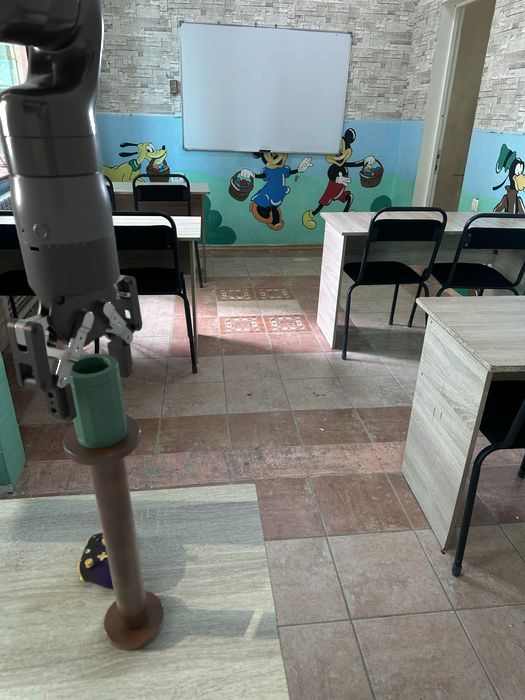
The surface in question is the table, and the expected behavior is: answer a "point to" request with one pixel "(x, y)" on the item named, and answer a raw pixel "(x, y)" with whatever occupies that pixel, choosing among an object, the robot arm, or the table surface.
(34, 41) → the robot arm
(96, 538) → the gaming controller
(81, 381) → the jar
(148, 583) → the table surface
